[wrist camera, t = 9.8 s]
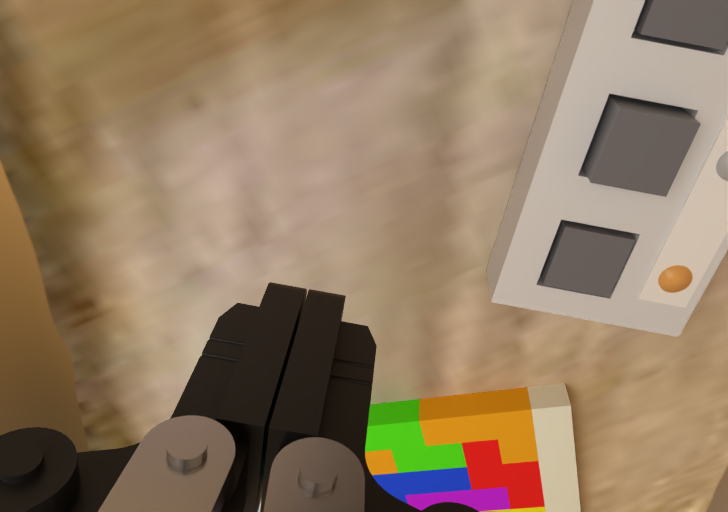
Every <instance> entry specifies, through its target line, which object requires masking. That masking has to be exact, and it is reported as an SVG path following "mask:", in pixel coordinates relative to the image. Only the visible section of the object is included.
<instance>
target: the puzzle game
mask: <svg viewBox="0 0 728 512" xmlns="http://www.w3.org/2000/svg"><path fill="white" fill-rule="evenodd" d="M365 458H366V463H367V466H368V469H369V471H370V473H371V474H372V476H373V478H374V479H375V480H376V482H377V483H378V484H379V485H380V486H381V487H382V488H383V489H384V490H385V491H387V492H388V493H389V494H391V495H392V496H394V497H396V498H397V499H399V500H401V501H403V502H405V503H407V504H409V505H411V506H413V507H415V508H417V509H419V510H421V511H422V510H423V509H425V508H427V507H428V506H430V505H433V504H436V503H441V502H454V503H460V504H464V505H467V506H469V507H472V508H474V509H476V510H478V511H479V512H581V510H580V499H579V488H578V477H577V467H576V456H575V445H574V435H573V424H572V413H571V404H570V401H569V397H568V393H567V390H566V386H565V383H563V384H554V385H545V386H535V387H526V388H517V389H508V390H499V391H490V392H481V393H472V394H463V395H453V396H444V397H435V398H426V399H417V400H408V401H399V402H390V403H381V404H371V405H370V409H369V418H368V427H367V436H366V446H365ZM260 507H261V502H260V506H259V510H258V512H260Z"/></svg>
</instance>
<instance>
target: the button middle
mask: <svg viewBox="0 0 728 512" xmlns="http://www.w3.org/2000/svg"><path fill="white" fill-rule="evenodd" d="M700 125H701V123H699V122H698V121H697V120H696V119H695V118H694V117H693V116H692V115H690V114H689V113H688V112H687V111H686V110H685V109H684V108H683V107H677V106H672V105H667V104H662V103H656V102H651V101H646V100H641V99H635V98H630V97H625V96H620V95H614V94H609V96H608V99H607V101H606V104H605V107H604V109H603V112H602V114H601V117H600V120H599V122H598V125H597V128H596V130H595V133H594V135H593V138H592V141H591V143H590V146H589V148H588V151H587V154H586V156H585V159H584V161H583V164H582V168H583V170H584V171H585V173H586V175H587V177H588V179H589V181H590V183H595V184H600V185H605V186H611V187H616V188H621V189H626V190H632V191H637V192H642V193H648V194H653V195H658V196H664V197H666V196H667V194H668V192H669V190H670V188H671V186H672V184H673V181H674V179H675V177H676V175H677V173H678V171H679V169H680V167H681V165H682V163H683V160H684V158H685V156H686V154H687V152H688V150H689V148H690V146H691V144H692V142H693V139H694V137H695V135H696V133H697V131H698V129H699V127H700Z"/></svg>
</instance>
